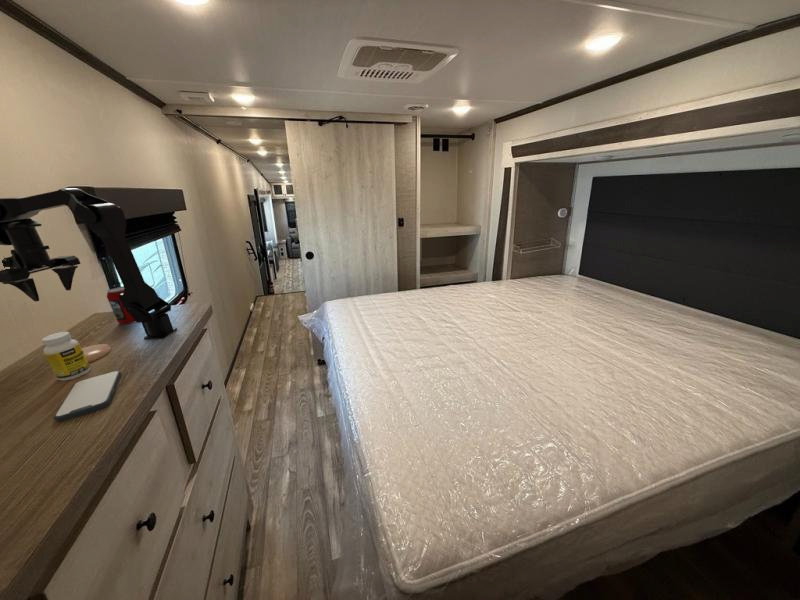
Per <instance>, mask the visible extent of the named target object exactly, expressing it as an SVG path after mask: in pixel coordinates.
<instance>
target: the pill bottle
mask: <svg viewBox="0 0 800 600" xmlns="http://www.w3.org/2000/svg"><path fill="white" fill-rule="evenodd" d="M41 341H42V344H43V345H44V346H45V347H44V349H43V355H44V357H45V358H46V360H47V362H48V364H49V366H50V368H51V370H52V371H53V373H54V375H55V377H56V378H57V380H59V381H69V380H70V381H71V380H75V379H77V378H79V377H82V376H84V375H86V374H87V373H89V371H91V365H90V362H89V363H88V361H87V359H86V357H85V355H84V353H83V350H82V349H81V348H82V347H81V344H80V343H79V341H78V340H76V339H72V335H71V333H70V332H69V331H60V332H56V333H53V334H50V335H47V336H44V337H43V338H42V339H41Z"/></svg>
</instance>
